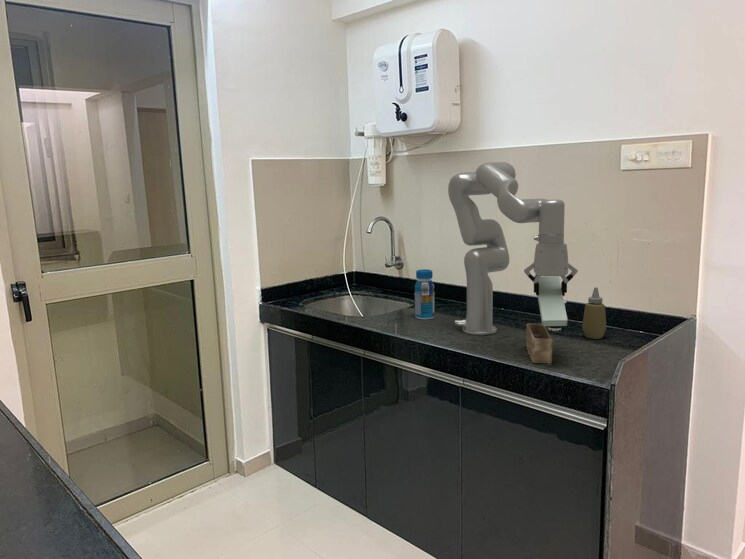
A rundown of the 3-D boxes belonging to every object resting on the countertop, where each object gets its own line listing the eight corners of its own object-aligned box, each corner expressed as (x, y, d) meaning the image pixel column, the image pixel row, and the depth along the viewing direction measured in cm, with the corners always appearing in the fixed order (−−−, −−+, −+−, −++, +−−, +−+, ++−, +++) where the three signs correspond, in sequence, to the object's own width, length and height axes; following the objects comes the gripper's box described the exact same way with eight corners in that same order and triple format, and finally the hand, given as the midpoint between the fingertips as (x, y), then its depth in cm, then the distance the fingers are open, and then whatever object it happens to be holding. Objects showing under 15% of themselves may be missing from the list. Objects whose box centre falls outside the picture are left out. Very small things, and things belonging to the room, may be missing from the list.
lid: (542, 326, 172) (542, 320, 170) (535, 282, 186) (535, 277, 185) (566, 325, 170) (567, 320, 169) (558, 281, 185) (558, 276, 184)
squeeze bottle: (577, 334, 205) (579, 286, 202) (599, 333, 206) (601, 285, 202) (588, 340, 197) (590, 290, 194) (610, 339, 198) (612, 289, 194)
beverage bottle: (410, 318, 236) (409, 271, 232) (422, 314, 242) (421, 268, 239) (427, 321, 230) (426, 272, 227) (438, 316, 237) (438, 270, 233)
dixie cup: (551, 333, 208) (552, 304, 206) (539, 327, 215) (540, 299, 213) (569, 330, 210) (570, 302, 208) (557, 325, 218) (557, 297, 216)
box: (532, 363, 175) (532, 338, 173) (525, 346, 193) (526, 323, 191) (551, 364, 174) (552, 339, 172) (543, 346, 192) (543, 323, 190)
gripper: (523, 241, 174) (522, 297, 177) (582, 240, 171) (580, 297, 174) (521, 238, 181) (520, 292, 184) (578, 237, 178) (576, 292, 181)
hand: (550, 294), depth 179 cm, fingers closed on lid, 7 cm apart
